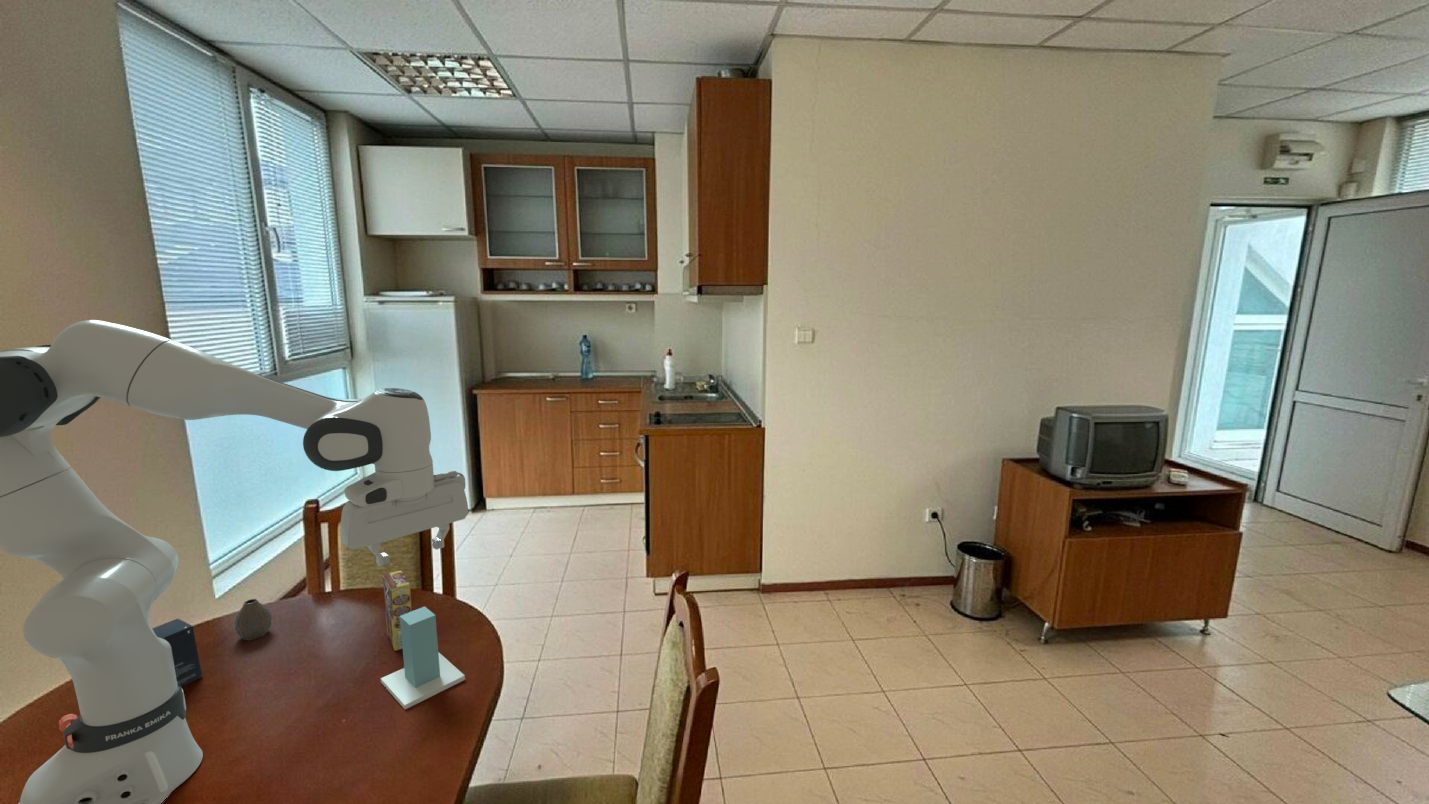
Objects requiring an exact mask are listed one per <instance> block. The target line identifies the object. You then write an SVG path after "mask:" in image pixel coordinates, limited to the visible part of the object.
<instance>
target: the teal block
mask: <svg viewBox="0 0 1429 804" xmlns="http://www.w3.org/2000/svg"><path fill="white" fill-rule="evenodd" d="M436 617H437V616H436V614H435V613H434V612H432V611H431V610H430V609H428V608H427V607H426V606H422V607H420V608H417V609H415V610H412V611H411V612H409V613H406V614H404V615H401V616H400V626H401V637H402V648H403V649H402V657H403V668H404V670H405V678H406V679H407V680H408V681H409V682H410V683H411V684H412V685H413V686H414V687H415V688H417V687H419V686H421V685H423V684H425V683H427V682H430V681H432V680H434V679H436V678H438V677H440V667H439V654H438V652H439V643H438V632H437V618H436Z"/></svg>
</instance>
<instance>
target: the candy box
mask: <svg viewBox="0 0 1429 804" xmlns="http://www.w3.org/2000/svg"><path fill="white" fill-rule="evenodd" d="M382 580H383V581H382V582H383V595H384V607H385V608H384V610H385V622H386V634H387V636H388V639H389V640H390V641H389V642H390V644H391V645H392V648H393V650H394V651H395V652H396V651H400V650H403V648H402V637H401V626H400V616H401V615H404V614H406V613H409V612H411V611H413V610H412V598H411V597H412V596H411V584H410V582H409V580H408V579H407V577H406V575H405V574H404V572H403V571H402V570H396V571H392V572H389V573H386V574H383V575H382Z"/></svg>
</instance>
